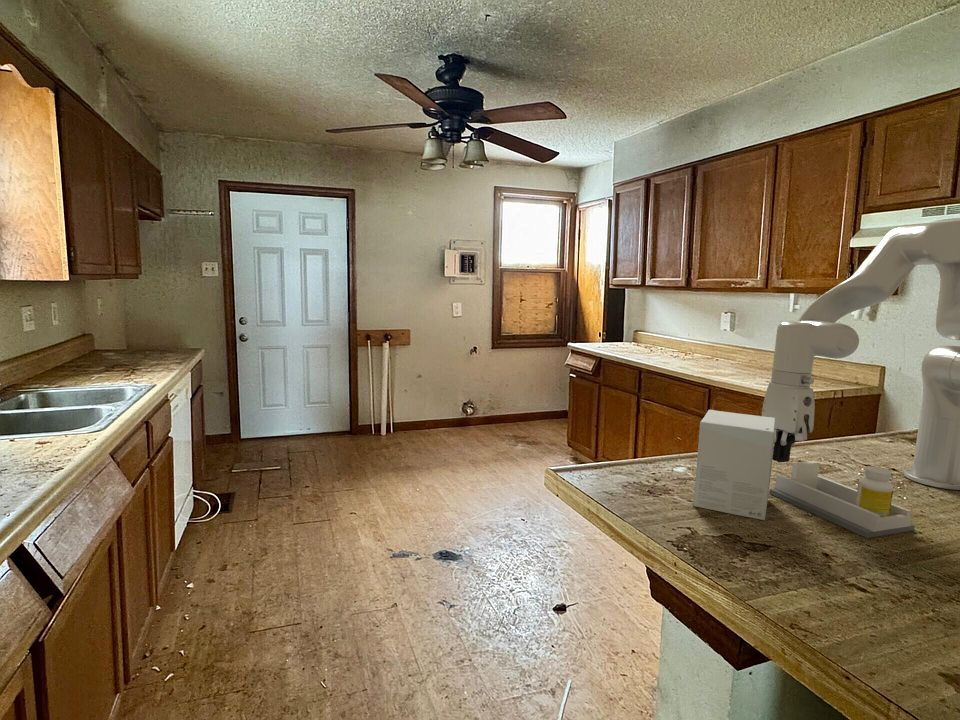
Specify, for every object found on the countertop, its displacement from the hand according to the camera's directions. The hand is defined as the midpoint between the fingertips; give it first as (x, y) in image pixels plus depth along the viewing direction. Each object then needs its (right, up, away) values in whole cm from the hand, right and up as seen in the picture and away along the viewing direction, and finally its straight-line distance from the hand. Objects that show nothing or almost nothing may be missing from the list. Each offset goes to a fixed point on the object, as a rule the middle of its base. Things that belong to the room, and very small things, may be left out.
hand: (780, 460), depth 127 cm
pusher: (+2, -5, -5) cm, 8 cm away
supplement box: (-15, -7, -10) cm, 19 cm away
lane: (+5, -8, -12) cm, 15 cm away
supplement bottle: (+7, -8, -19) cm, 22 cm away
